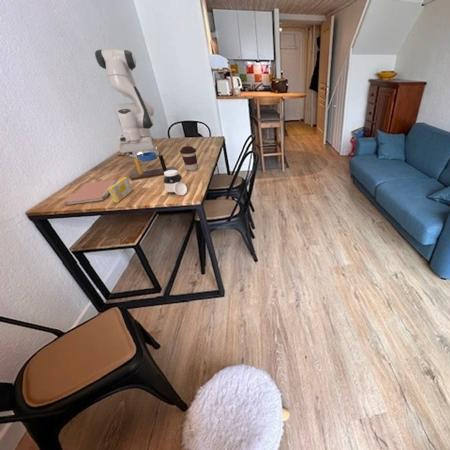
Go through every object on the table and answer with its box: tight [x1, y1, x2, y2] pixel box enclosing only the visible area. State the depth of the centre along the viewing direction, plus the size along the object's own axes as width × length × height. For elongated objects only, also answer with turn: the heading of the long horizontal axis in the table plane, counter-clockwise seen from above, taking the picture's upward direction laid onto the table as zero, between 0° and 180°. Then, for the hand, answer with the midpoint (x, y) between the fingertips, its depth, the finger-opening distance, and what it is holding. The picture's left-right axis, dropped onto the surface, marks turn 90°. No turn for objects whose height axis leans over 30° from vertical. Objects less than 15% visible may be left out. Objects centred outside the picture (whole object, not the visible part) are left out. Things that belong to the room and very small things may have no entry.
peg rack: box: [130, 154, 176, 181], centre depth 162 cm, size 26×10×12 cm, turn 122°
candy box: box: [108, 176, 134, 204], centre depth 133 cm, size 16×2×8 cm, turn 5°
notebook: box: [65, 179, 118, 206], centre depth 139 cm, size 27×17×2 cm, turn 19°
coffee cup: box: [179, 145, 199, 172], centre depth 169 cm, size 10×10×15 cm
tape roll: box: [138, 152, 158, 162], centre depth 173 cm, size 11×11×3 cm
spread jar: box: [163, 169, 188, 196], centre depth 136 cm, size 12×11×12 cm
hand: (140, 157), depth 171 cm, fingers closed on tape roll, 2 cm apart
